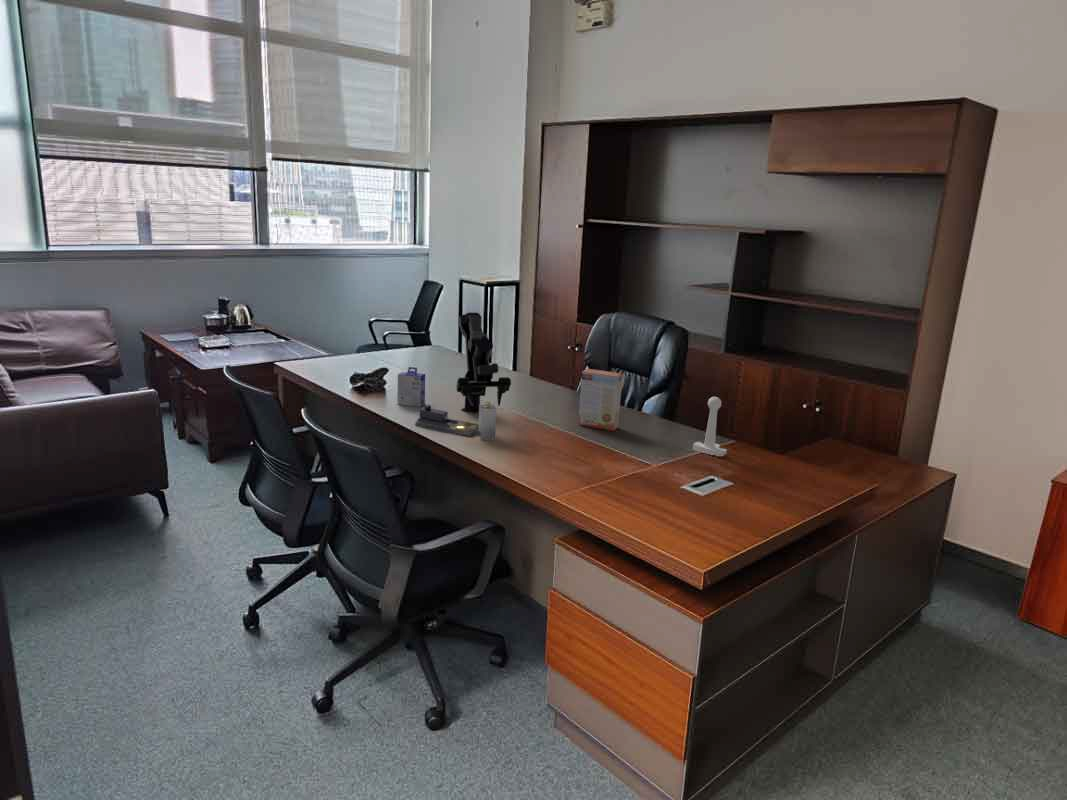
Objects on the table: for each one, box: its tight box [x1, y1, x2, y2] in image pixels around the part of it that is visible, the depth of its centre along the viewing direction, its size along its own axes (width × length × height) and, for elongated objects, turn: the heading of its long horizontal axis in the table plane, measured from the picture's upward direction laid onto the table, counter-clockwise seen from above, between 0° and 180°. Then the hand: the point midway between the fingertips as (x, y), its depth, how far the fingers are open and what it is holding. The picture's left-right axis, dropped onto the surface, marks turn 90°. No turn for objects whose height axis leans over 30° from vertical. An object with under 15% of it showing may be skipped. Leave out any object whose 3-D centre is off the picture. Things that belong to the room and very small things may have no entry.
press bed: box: [414, 417, 479, 438], centre depth 263 cm, size 10×22×2 cm, turn 66°
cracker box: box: [578, 368, 623, 432], centre depth 271 cm, size 14×6×21 cm, turn 65°
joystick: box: [692, 396, 728, 457], centre depth 250 cm, size 11×8×20 cm
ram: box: [419, 404, 449, 423], centre depth 264 cm, size 4×10×5 cm, turn 66°
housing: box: [477, 401, 497, 441], centre depth 253 cm, size 5×5×12 cm
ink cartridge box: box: [397, 366, 426, 407], centre depth 288 cm, size 10×6×14 cm, turn 78°
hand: (486, 405), depth 255 cm, fingers open, 9 cm apart
